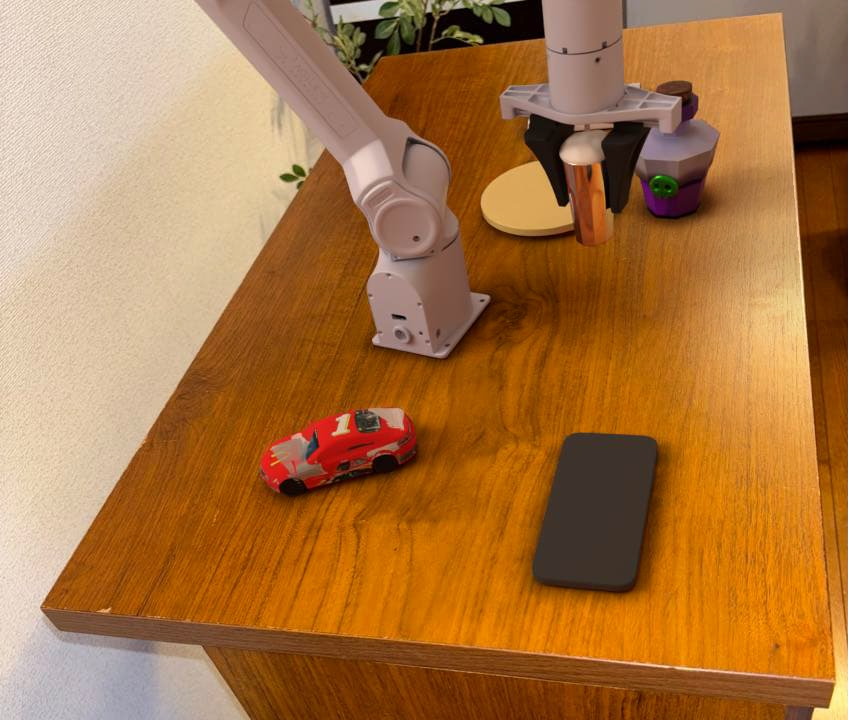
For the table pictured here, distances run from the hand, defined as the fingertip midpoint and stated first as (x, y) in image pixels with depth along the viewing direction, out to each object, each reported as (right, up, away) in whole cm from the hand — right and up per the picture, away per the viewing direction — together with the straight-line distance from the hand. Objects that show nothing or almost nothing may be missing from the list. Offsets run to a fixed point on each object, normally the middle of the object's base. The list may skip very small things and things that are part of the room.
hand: (593, 204), depth 83 cm
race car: (-21, -22, -1) cm, 31 cm away
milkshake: (+1, -2, +2) cm, 3 cm away
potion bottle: (+11, +5, +16) cm, 20 cm away
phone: (-1, -26, -10) cm, 28 cm away
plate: (-1, +7, +20) cm, 21 cm away
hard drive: (+5, +21, +32) cm, 38 cm away
